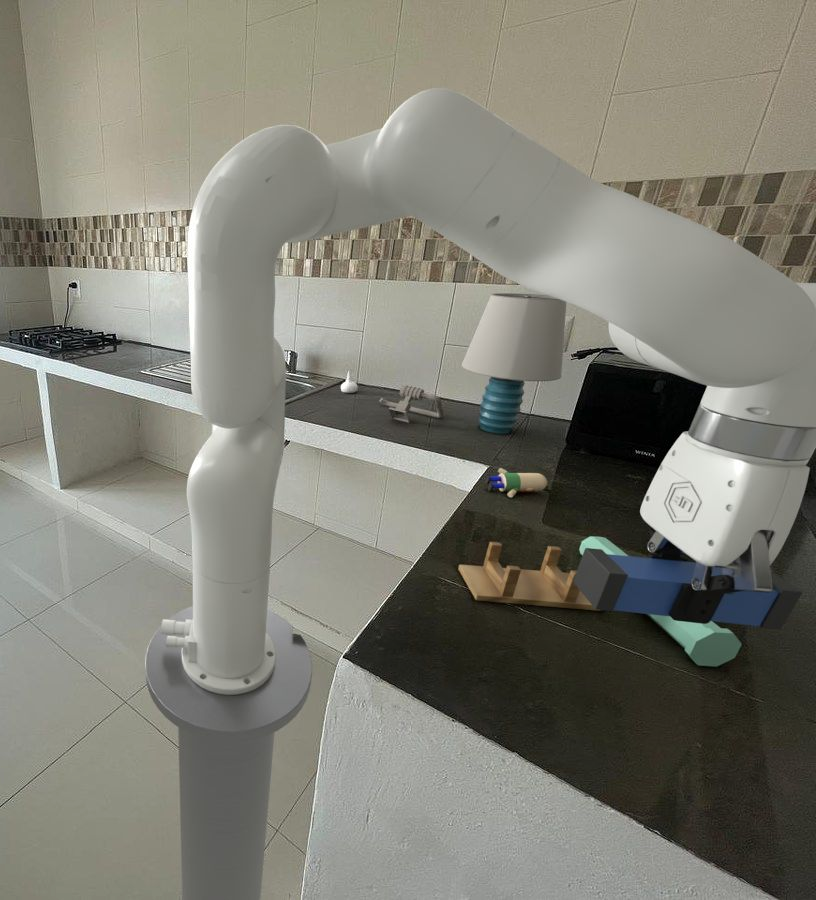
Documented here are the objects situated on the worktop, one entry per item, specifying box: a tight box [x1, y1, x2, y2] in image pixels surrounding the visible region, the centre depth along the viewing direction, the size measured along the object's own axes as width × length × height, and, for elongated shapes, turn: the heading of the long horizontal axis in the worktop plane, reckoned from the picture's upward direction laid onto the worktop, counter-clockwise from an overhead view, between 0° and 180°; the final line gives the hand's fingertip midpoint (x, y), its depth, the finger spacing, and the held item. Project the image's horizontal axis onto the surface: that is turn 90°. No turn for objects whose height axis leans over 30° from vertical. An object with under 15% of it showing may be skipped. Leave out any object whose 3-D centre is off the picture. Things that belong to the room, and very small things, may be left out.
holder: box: [457, 541, 602, 612], centre depth 76 cm, size 18×8×6 cm, turn 83°
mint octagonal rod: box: [579, 535, 743, 668], centre depth 73 cm, size 6×6×25 cm
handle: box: [573, 548, 803, 631], centre depth 48 cm, size 16×4×4 cm, turn 81°
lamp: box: [461, 292, 567, 435], centre depth 140 cm, size 25×25×39 cm
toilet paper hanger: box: [378, 385, 445, 423], centre depth 158 cm, size 22×11×14 cm
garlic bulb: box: [340, 370, 358, 394], centre depth 184 cm, size 6×6×8 cm
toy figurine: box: [484, 467, 548, 498], centre depth 108 cm, size 8×4×12 cm
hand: (671, 602), depth 48 cm, fingers closed on handle, 4 cm apart
